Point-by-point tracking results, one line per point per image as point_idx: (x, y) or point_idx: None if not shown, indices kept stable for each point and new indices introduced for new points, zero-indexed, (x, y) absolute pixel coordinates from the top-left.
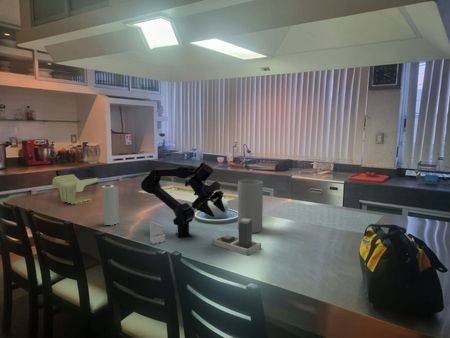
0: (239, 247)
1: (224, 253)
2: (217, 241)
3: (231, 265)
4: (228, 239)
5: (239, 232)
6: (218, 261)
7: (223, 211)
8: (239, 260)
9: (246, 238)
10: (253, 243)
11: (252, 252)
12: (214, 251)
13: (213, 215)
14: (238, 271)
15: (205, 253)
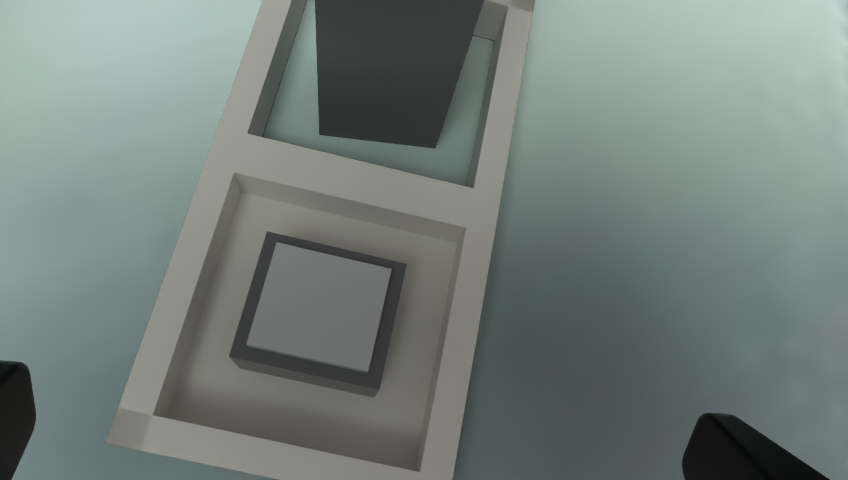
0: (516, 85)
1: (599, 240)
2: (462, 412)
3: (776, 83)
4: (399, 265)
5: (476, 12)
6: (783, 211)
7: (23, 429)
8: (656, 59)
9: None
10: (291, 13)
11: None
12: (613, 363)
13: (744, 431)
14: (823, 6)
15: None
